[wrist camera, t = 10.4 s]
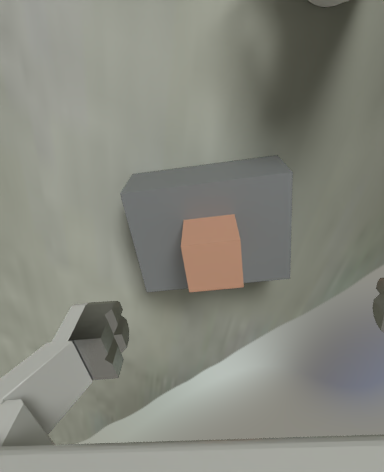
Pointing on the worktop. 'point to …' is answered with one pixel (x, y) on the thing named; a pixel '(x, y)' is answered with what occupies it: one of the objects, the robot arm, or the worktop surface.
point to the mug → (327, 2)
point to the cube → (212, 253)
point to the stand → (209, 205)
